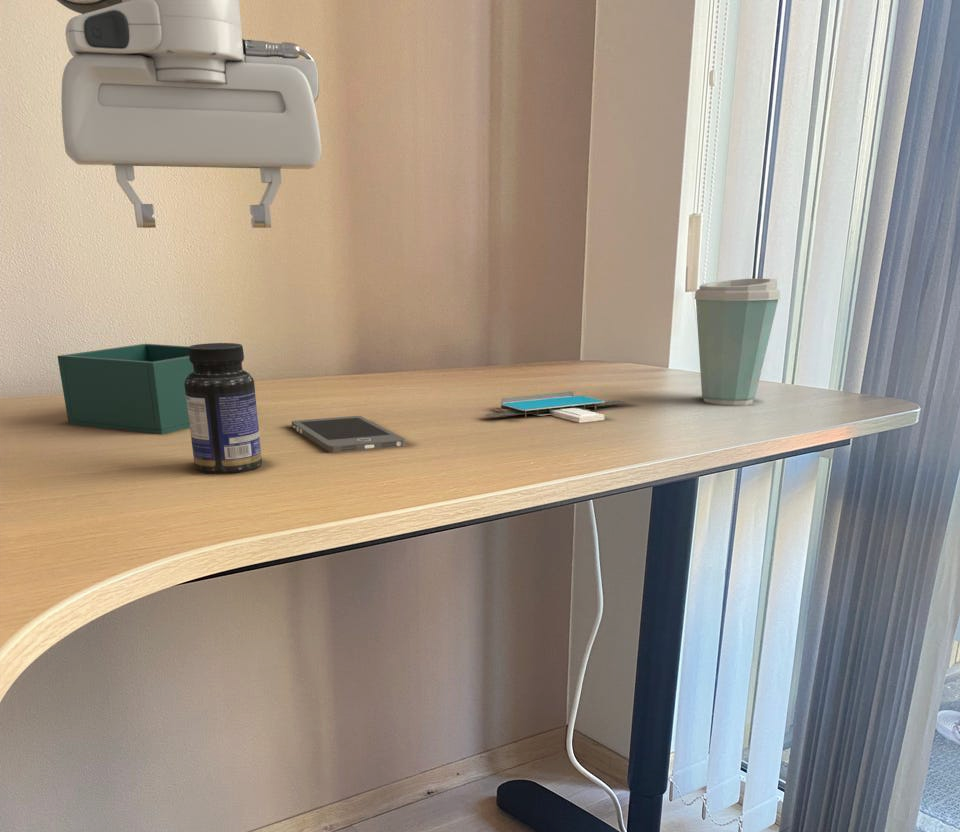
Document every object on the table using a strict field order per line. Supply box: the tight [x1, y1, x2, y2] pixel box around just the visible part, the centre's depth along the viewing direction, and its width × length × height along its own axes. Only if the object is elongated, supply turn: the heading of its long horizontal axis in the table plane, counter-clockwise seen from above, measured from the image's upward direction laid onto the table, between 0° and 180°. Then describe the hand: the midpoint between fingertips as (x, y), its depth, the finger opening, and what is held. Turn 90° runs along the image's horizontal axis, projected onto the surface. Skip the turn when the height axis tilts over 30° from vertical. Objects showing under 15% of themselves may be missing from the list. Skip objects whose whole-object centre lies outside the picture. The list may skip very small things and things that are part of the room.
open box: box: [57, 343, 194, 435], centre depth 109 cm, size 14×14×8 cm
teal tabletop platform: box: [485, 390, 625, 424], centre depth 115 cm, size 20×12×2 cm, turn 121°
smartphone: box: [291, 415, 406, 454], centre depth 102 cm, size 15×8×1 cm, turn 25°
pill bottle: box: [184, 342, 263, 475], centre depth 87 cm, size 6×6×11 cm
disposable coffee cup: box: [693, 278, 781, 406], centre depth 121 cm, size 11×11×15 cm
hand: (205, 227), depth 81 cm, fingers open, 8 cm apart
